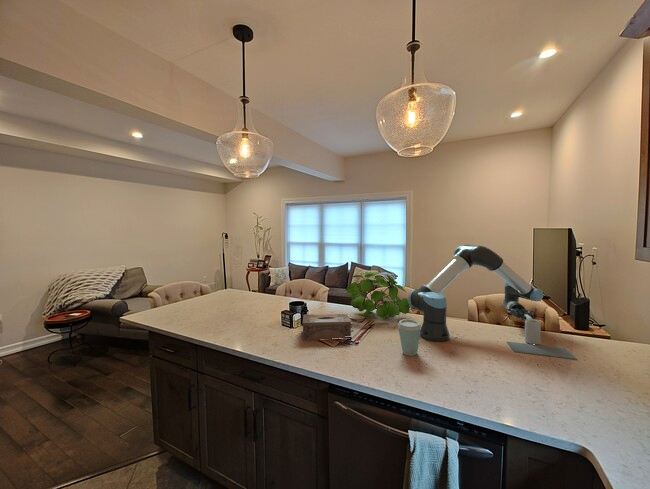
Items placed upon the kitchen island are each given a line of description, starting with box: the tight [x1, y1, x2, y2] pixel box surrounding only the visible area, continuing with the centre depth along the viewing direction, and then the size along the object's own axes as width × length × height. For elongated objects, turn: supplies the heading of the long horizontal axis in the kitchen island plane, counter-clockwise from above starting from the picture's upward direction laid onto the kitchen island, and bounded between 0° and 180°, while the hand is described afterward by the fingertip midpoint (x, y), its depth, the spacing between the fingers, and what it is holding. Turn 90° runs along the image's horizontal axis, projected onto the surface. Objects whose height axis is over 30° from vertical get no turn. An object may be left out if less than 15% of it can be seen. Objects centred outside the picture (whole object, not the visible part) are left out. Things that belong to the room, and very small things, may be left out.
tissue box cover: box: [302, 313, 352, 342], centre depth 151 cm, size 26×14×10 cm, turn 93°
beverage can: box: [524, 318, 542, 345], centre depth 139 cm, size 6×6×12 cm
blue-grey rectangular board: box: [506, 341, 578, 360], centre depth 130 cm, size 24×12×1 cm, turn 69°
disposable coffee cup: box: [397, 318, 422, 357], centre depth 128 cm, size 11×11×15 cm
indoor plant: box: [345, 271, 411, 319], centre depth 189 cm, size 44×42×30 cm
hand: (530, 320), depth 143 cm, fingers closed
